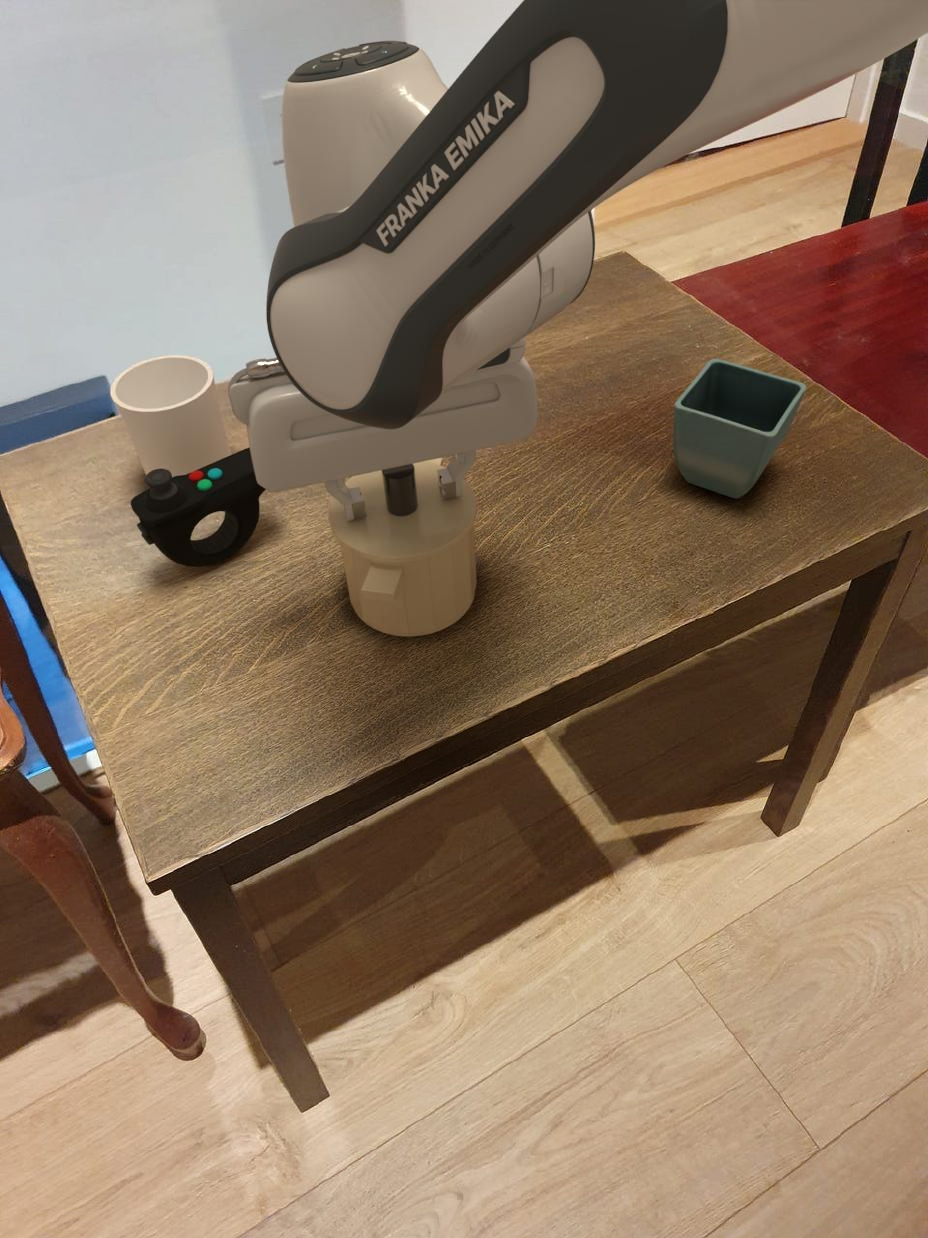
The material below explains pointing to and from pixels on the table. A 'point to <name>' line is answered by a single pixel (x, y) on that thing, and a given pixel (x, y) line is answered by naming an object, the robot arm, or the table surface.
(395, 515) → the lid
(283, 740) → the table surface
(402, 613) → the pot
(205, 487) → the controller
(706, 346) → the table surface
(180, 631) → the table surface
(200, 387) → the mug
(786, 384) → the flower pot
